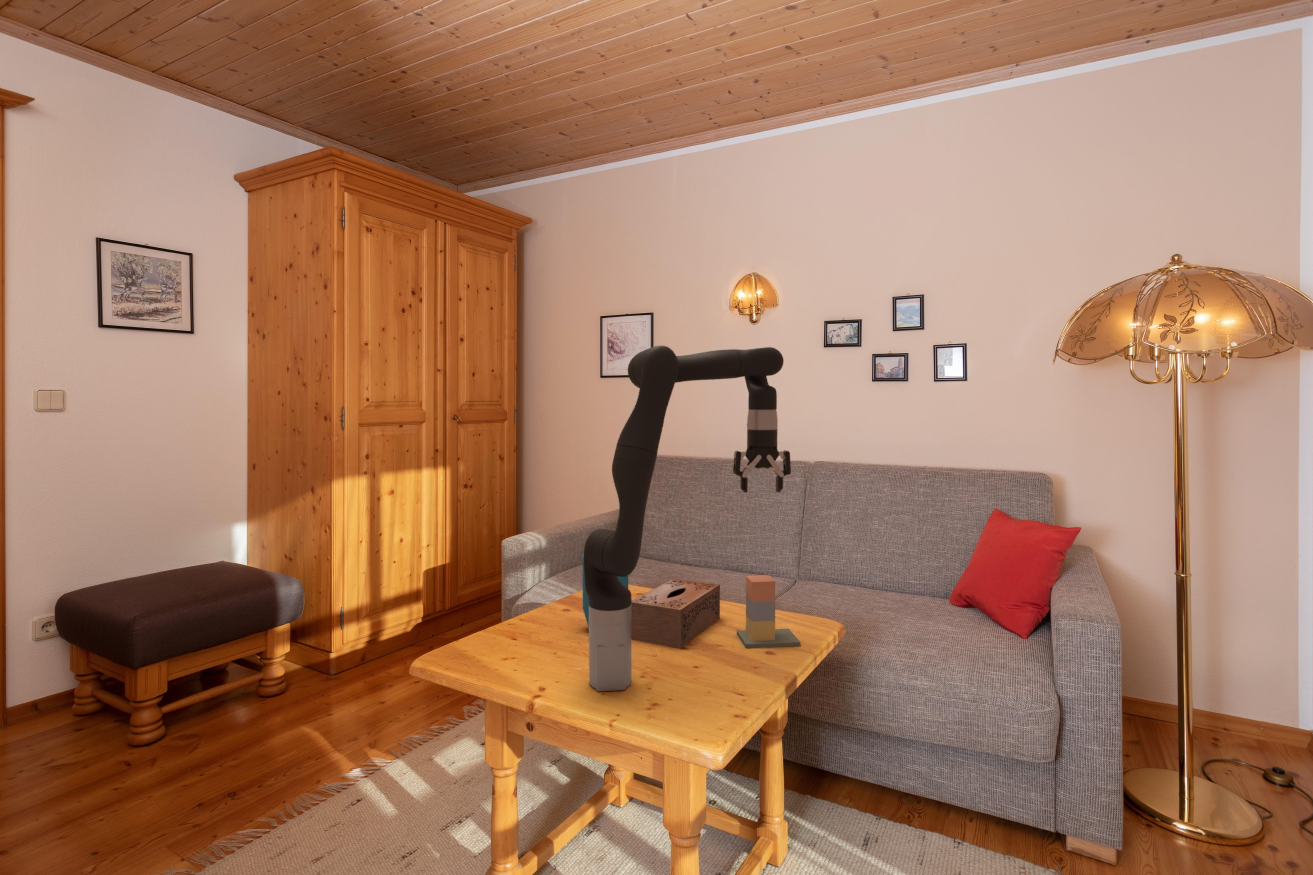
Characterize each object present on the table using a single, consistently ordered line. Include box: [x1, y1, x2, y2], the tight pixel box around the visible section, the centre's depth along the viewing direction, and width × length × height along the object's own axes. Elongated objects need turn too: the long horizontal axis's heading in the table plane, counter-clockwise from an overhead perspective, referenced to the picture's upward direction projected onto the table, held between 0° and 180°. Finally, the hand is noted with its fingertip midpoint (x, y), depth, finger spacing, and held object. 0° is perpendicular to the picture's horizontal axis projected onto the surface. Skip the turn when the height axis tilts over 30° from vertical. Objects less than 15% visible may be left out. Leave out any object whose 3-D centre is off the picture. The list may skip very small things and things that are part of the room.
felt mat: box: [736, 628, 802, 649], centre depth 174 cm, size 10×14×1 cm
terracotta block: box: [745, 574, 776, 602], centre depth 173 cm, size 6×6×5 cm
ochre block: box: [745, 614, 776, 641], centre depth 174 cm, size 6×6×5 cm
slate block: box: [745, 595, 776, 622], centre depth 174 cm, size 6×6×5 cm
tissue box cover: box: [631, 577, 721, 650], centre depth 183 cm, size 26×14×10 cm, turn 152°
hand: (761, 491), depth 172 cm, fingers open, 8 cm apart
